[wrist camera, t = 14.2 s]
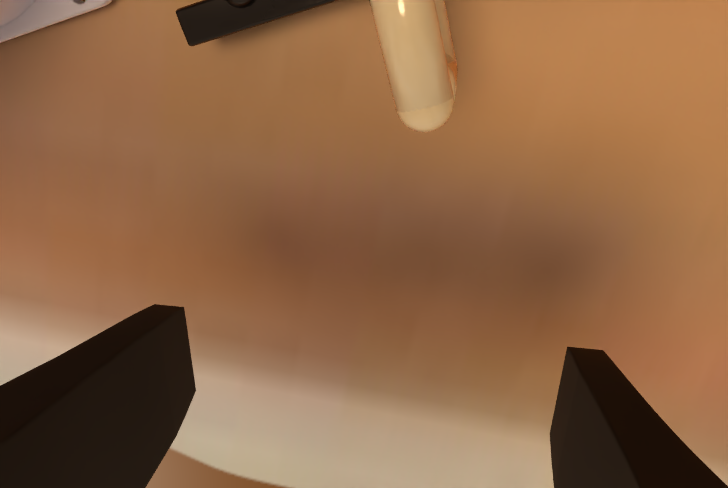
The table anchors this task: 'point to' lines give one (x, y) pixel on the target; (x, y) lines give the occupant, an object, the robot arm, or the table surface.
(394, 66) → the beige mug
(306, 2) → the rack
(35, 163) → the table surface
